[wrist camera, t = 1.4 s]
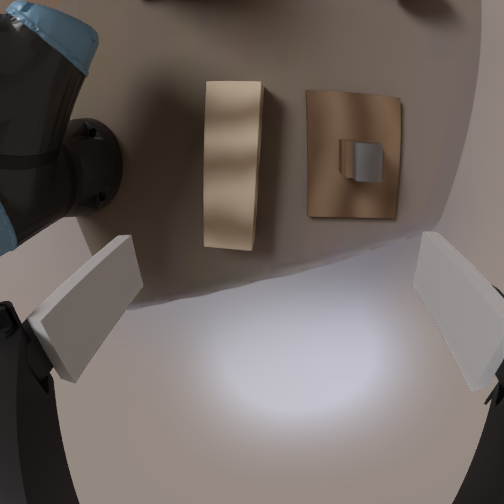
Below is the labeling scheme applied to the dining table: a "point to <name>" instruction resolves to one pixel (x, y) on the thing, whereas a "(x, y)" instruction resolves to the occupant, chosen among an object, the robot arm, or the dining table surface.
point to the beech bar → (232, 162)
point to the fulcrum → (352, 154)
